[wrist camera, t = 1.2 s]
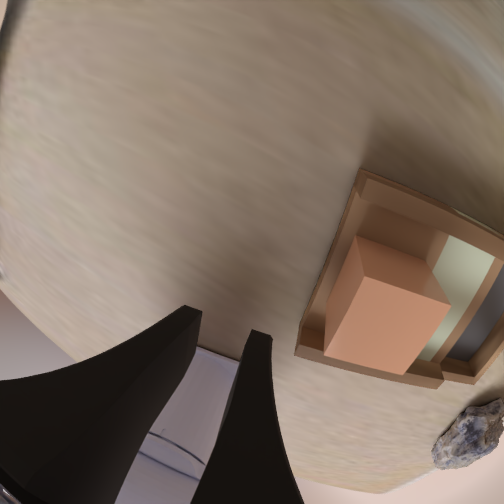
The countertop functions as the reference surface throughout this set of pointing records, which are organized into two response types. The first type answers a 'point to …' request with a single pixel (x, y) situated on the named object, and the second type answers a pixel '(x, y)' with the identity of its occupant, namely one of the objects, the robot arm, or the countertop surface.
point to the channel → (443, 267)
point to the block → (382, 308)
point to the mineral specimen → (470, 436)
